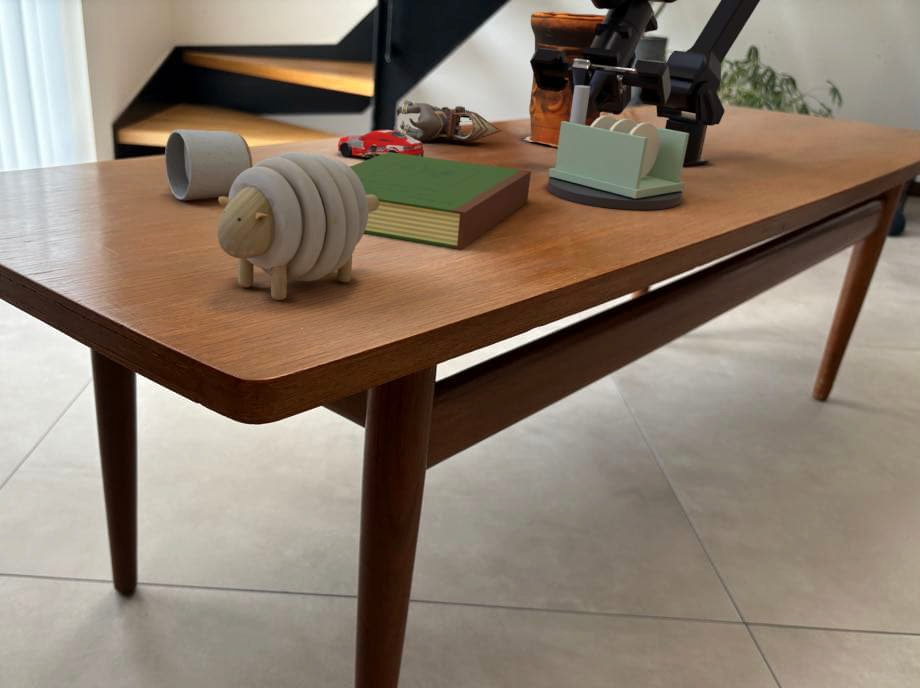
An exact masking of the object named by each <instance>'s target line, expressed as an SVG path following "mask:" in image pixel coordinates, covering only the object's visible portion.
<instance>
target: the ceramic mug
mask: <svg viewBox="0 0 920 688" xmlns="http://www.w3.org/2000/svg"><path fill="white" fill-rule="evenodd" d="M251 151H252V150H251V148H250V146H249V144H248V142H247V141H246V139H245V138H244V137H243V136H242V135H240V134H238V133H236V132H231V131H228V130H227V131H226V130H198V129H185V128H184V129H183V128H181V129H179V128H178V129H173V130H172V132H171V133H169V136H168V137H167V141H166V146H165V151H164V163H165V164H164V165H165V173H166V178H167V182H168V185H169V188H170V190H171V192H172V194H173V196H174V197H175V198H176V199H177V200H179V201H194V200H205V199H206V200H207V199H214V198H219V197H222V196H225V197H227V198H228V196H229V192H230V189H231V187H232V185H233V183H234V181H235V180H236V178H237V177H238V176H239V175H240V174H241V173H242V172H243V171H245V170H247V169H249V168H251V167H253V166H254V164H253V163H254V162H253V156H252V152H251Z"/></svg>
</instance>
